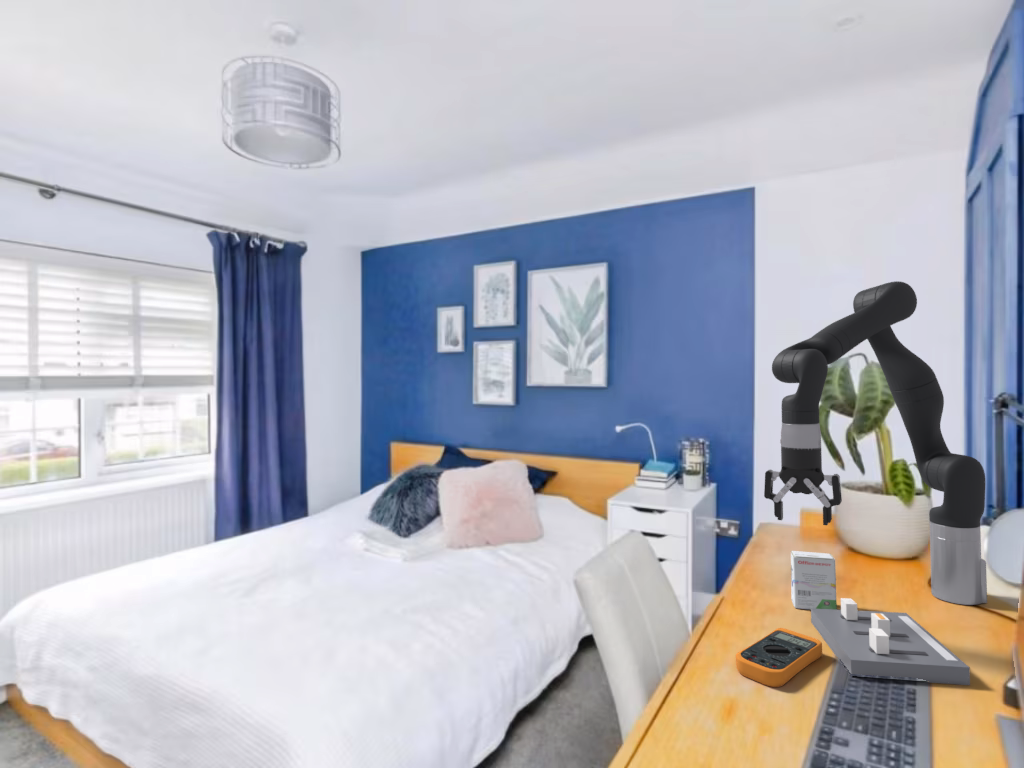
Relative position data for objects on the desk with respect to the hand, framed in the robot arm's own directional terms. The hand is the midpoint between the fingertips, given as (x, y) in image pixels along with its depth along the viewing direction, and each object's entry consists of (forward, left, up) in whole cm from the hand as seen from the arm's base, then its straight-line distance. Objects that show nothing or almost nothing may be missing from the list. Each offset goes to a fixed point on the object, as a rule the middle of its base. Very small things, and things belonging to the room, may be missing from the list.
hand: (802, 521), depth 117 cm
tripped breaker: (-11, +9, -19) cm, 23 cm away
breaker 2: (-8, +16, -19) cm, 26 cm away
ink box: (-5, -11, -22) cm, 25 cm away
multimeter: (+9, +17, -22) cm, 30 cm away
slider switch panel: (-11, +9, -22) cm, 26 cm away
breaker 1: (-8, +2, -19) cm, 20 cm away
